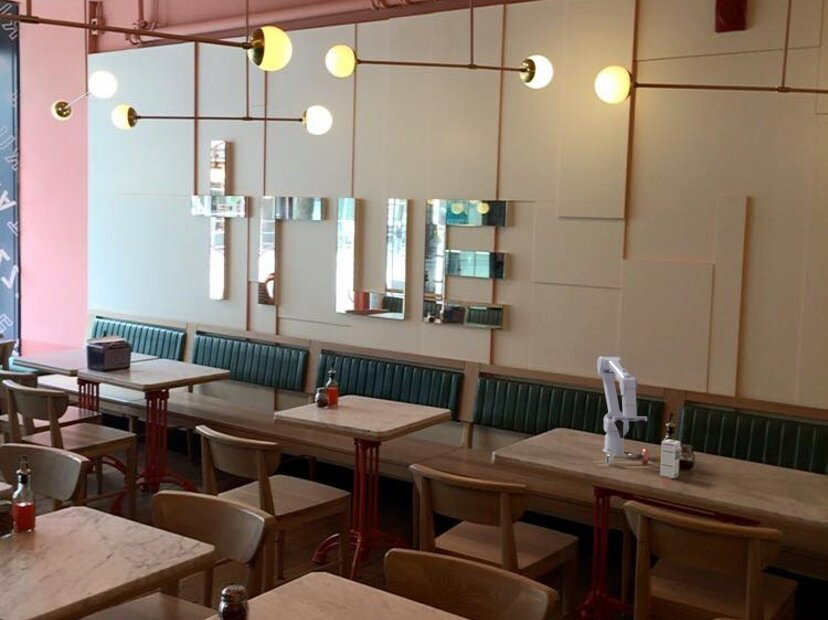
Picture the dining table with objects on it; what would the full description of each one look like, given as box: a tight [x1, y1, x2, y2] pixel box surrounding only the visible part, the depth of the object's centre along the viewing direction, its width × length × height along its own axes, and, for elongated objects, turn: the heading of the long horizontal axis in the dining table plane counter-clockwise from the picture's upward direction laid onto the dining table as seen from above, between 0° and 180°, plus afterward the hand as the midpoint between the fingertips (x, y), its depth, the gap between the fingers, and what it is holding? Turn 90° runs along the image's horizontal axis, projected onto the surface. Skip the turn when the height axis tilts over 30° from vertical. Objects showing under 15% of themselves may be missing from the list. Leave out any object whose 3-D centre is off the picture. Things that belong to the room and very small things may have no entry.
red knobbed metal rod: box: [605, 448, 650, 464], centre depth 396 cm, size 18×6×6 cm, turn 98°
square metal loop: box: [604, 449, 616, 466], centre depth 395 cm, size 6×3×6 cm, turn 8°
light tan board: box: [591, 459, 660, 469], centre depth 396 cm, size 12×25×1 cm, turn 98°
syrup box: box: [659, 439, 681, 479], centre depth 381 cm, size 6×6×14 cm
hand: (630, 438), depth 397 cm, fingers open, 7 cm apart
